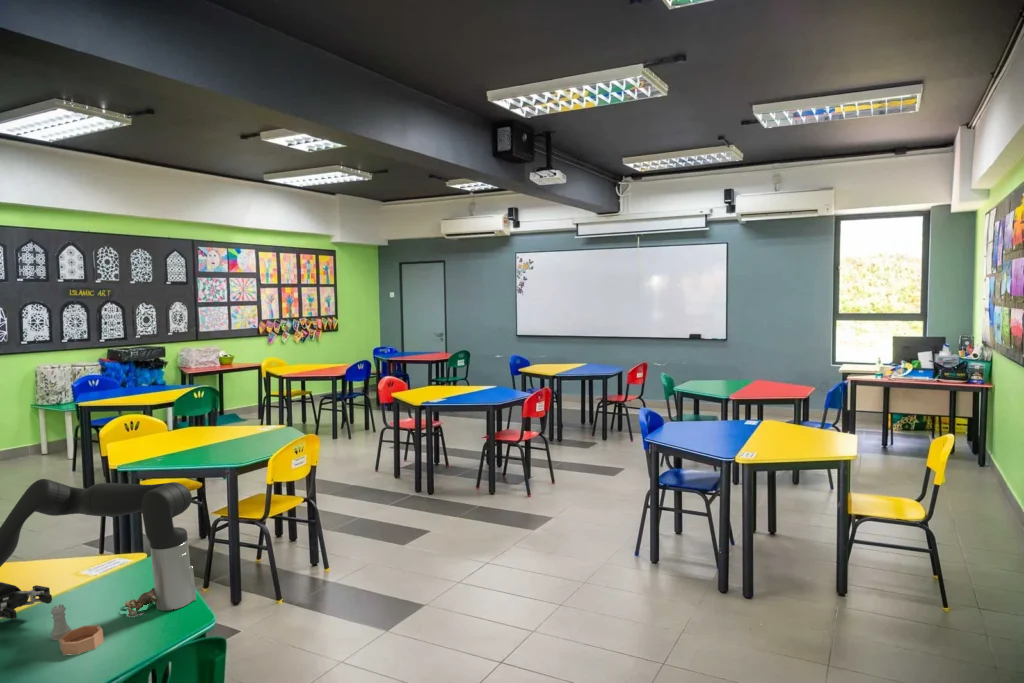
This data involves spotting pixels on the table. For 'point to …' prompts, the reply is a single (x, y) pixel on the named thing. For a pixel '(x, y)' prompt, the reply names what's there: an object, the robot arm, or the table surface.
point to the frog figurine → (140, 602)
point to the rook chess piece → (59, 622)
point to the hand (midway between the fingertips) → (32, 606)
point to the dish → (81, 639)
